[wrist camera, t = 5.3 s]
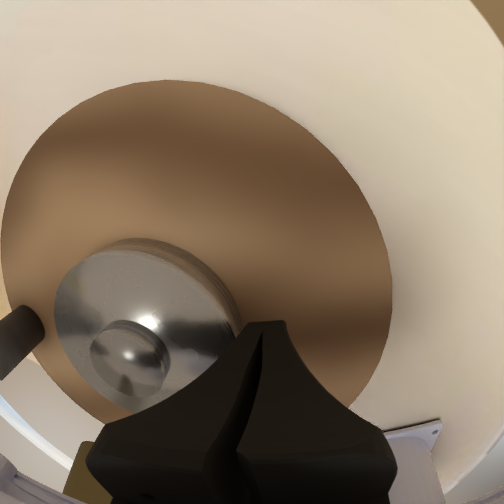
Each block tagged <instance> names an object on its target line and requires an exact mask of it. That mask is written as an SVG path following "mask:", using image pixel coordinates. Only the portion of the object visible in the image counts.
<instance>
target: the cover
mask: <svg viewBox="0 0 504 504" xmlns="http://www.w3.org/2000/svg"><path fill="white" fill-rule="evenodd" d="M54 319H55V326H56V330H57V334H58V337H59V340H60V343H61V345H62V347H63V349H64V351H65V353H66V355H67V357H68V359H69V360H70V362H71V363H72V365H73V366H74V368H75V369H76V370H77V372H78V373H79V374H80V375H81V376H82V377H83V379H84V380H85V381H86V382H87V383H88V384H89V385H90V386H91V387H92V388H94V389H95V390H96V391H97V392H98V393H100V394H101V395H102V396H103V397H105V398H106V399H108V400H109V401H111V402H112V403H114V404H116V405H118V406H119V407H121V408H123V409H125V410H127V411H130V412H132V413H135V414H136V413H138V412H140V411H143V410H145V409H147V408H149V407H151V406H153V405H155V404H157V403H159V402H161V401H163V400H165V399H166V398H168V397H170V396H171V395H173V394H174V393H176V392H177V391H179V390H181V389H182V388H184V387H185V386H187V385H188V384H189V383H191V382H192V381H193V380H195V379H196V378H197V377H198V376H200V375H201V374H202V373H203V372H204V371H206V370H207V369H208V368H209V367H210V366H211V365H212V364H213V363H214V362H215V361H216V360H217V359H218V358H219V357H220V356H221V355H222V354H223V352H224V351H225V350H226V349H227V348H228V347H229V346H230V344H231V343H232V342H233V341H234V340H235V338H236V337H237V336H238V335H239V333H240V332H241V331H242V329H243V323H242V319H241V314H240V312H239V309H238V307H237V304H236V302H235V300H234V298H233V296H232V294H231V293H230V291H229V289H228V288H227V287H226V285H225V284H224V283H223V281H222V280H221V279H220V278H219V277H218V276H217V274H216V273H215V272H214V271H213V270H212V269H211V268H209V267H208V266H207V265H206V264H205V263H204V262H203V261H201V260H200V259H198V258H197V257H195V256H194V255H192V254H191V253H189V252H187V251H185V250H183V249H181V248H180V247H177V246H175V245H172V244H170V243H167V242H163V241H159V240H155V239H148V238H128V239H123V240H119V241H116V242H113V243H111V244H108V245H107V246H105V247H103V248H102V249H100V250H98V251H97V252H95V253H94V254H92V255H91V256H89V257H88V258H86V259H84V260H83V261H81V262H80V263H78V264H77V265H75V266H74V267H73V268H72V269H71V270H70V271H69V272H67V274H66V275H65V276H64V278H63V279H62V281H61V283H60V285H59V287H58V289H57V293H56V296H55V303H54Z"/></svg>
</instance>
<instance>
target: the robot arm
mask: <svg viewBox="0 0 504 504" xmlns="http://www.w3.org/2000/svg"><path fill="white" fill-rule="evenodd" d="M442 427H443V423H442V421H441V420H436V421H433V422H429V423H425V424H421V425H417V426H413V427H409V428H404V429H399V430H395V431H390V432H384V433H383V432H382V431H381V429H380V428H378V427H377V426H375V425H373V424H371V423H370V422H368V421H366V420H364V419H363V418H361V417H359V416H358V415H356V414H355V413H354V412H352V411H351V410H350V409H348V408H347V407H345V406H344V405H343V404H342V403H341V402H340V401H338V400H337V399H336V398H335V397H334V396H333V395H332V394H330V393H329V392H328V391H327V390H326V389H325V388H324V387H323V386H322V385H321V383H320V382H319V381H318V380H317V379H316V378H315V377H314V375H313V374H312V373H311V372H310V370H309V369H308V368H307V366H306V365H305V363H304V362H303V360H302V359H301V357H300V356H299V354H298V352H297V350H296V349H295V347H294V345H293V343H292V341H291V339H290V336H289V334H288V331H287V326H286V322H285V321H284V320H275V321H260V322H248V323H247V325H246V326H245V327H244V328H243V329H242V331H241V332H240V333H239V335H238V336H237V337H236V338H235V340H234V341H233V342H232V343H231V344H230V346H229V347H228V348H227V349H226V350H225V351H224V352H223V354H222V355H221V356H220V357H219V358H218V359H217V360H216V361H215V362H214V363H213V364H212V365H211V366H210V367H209V368H208V369H207V370H206V371H204V372H203V373H202V374H201V375H200V376H198V377H197V378H196V379H195V380H193V381H192V382H191V383H189V384H188V385H187V386H185V387H184V388H182V389H181V390H179V391H177V392H176V393H174V394H173V395H171V396H170V397H168V398H166V399H165V400H163V401H161V402H159V403H157V404H155V405H153V406H151V407H149V408H147V409H145V410H143V411H140V412H138V413H136V414H133V415H130V416H128V417H125V418H122V419H119V420H116V421H113V422H110V423H107V424H105V426H104V427H103V429H102V430H101V432H100V434H99V435H98V437H97V439H96V441H95V442H94V444H93V446H92V447H91V449H90V451H89V453H88V454H87V456H86V459H85V463H86V466H87V468H88V470H89V472H90V473H91V474H92V476H93V477H94V478H95V479H96V480H97V481H98V482H99V484H100V485H101V486H102V487H103V488H104V489H105V490H106V491H107V492H108V493H109V494H110V495H111V496H112V497H113V498H112V501H111V503H110V504H446V502H445V499H444V495H443V492H442V488H441V485H440V482H439V478H438V475H437V472H436V469H435V466H434V463H433V460H432V457H431V454H430V452H431V450H432V448H433V446H434V444H435V442H436V440H437V438H438V436H439V433H440V431H441V429H442ZM0 504H87V503H84V502H81V501H79V500H77V499H74V498H72V497H69V496H67V495H65V494H62V493H60V492H58V491H56V490H54V489H52V488H49V487H47V486H45V485H43V484H41V483H39V482H37V481H35V480H33V479H32V478H30V477H28V476H26V475H24V474H22V473H21V472H19V471H17V469H16V468H15V467H14V465H13V464H12V463H11V462H10V461H9V460H8V459H7V458H6V457H5V456H3V455H2V454H0ZM463 504H504V485H503V486H501V487H499V488H497V489H495V490H493V491H491V492H489V493H487V494H484V495H482V496H480V497H478V498H475V499H473V500H471V501H468V502H466V503H463Z"/></svg>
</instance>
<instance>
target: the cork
mask: <svg viewBox="0 0 504 504" xmlns="http://www.w3.org/2000/svg"><path fill="white" fill-rule="evenodd" d="M93 444H94V442H90V441H85V442H82V443H81V445H80V447H79V450H78V452H77V455H76V457H75V460H74V462H73V465H72V468H71V470H70V473H69V476H68V479H67V481H66V484H65V487H64V490H63V493H62V494H65V495H67V496H69V497H72V498H74V499H77V500H79V501H81V502H84V503H87V504H110V503H111V501H112V498H113V497H112V496H111V495H110V494H109V493H108V492H107V491H106V490H105V489H104V488H103V487H102V486H101V485H100V484H99V482H98V481H97V480H96V479H95V478H94V477H93V476H92V474H91V473H90V472H89V470H88V468H87V466H86V463H85V459H86V456H87V454H88V453H89V451H90V449H91V447H92V446H93Z"/></svg>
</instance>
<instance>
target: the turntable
mask: <svg viewBox="0 0 504 504" xmlns="http://www.w3.org/2000/svg"><path fill="white" fill-rule="evenodd" d="M128 238H148V239H155V240H159V241H163V242H167V243H170V244H172V245H175V246H177V247H180V248H181V249H183V250H185V251H187V252H189V253H191V254H192V255H194V256H195V257H197V258H198V259H200V260H201V261H203V262H204V263H205V264H206V265H207V266H208V267H209V268H211V269H212V270H213V271H214V272H215V273H216V274H217V276H218V277H219V278H220V279H221V280H222V281H223V283H224V284H225V285H226V287H227V288H228V289H229V291H230V293H231V294H232V296H233V298H234V300H235V302H236V304H237V307H238V309H239V312H240V314H241V319H242V323H243V328H244V327H245V326H246V325H247V323H248V322H260V321H275V320H284V321H285V322H286V326H287V331H288V334H289V336H290V339H291V341H292V343H293V345H294V347H295V349H296V350H297V352H298V354H299V356H300V357H301V359H302V360H303V362H304V363H305V365H306V366H307V368H308V369H309V370H310V372H311V373H312V374H313V375H314V377H315V378H316V379H317V380H318V381H319V382H320V383H321V385H322V386H323V387H324V388H325V389H326V390H327V391H328V392H329V393H330V394H332V395H333V396H334V397H335V398H336V399H337V400H338V401H340V402H341V403H342V404H343V405H344V406H345V407H347V408H348V407H349V406H350V405H351V404H352V403H353V402H354V401H355V400H356V398H357V397H358V396H359V394H360V393H361V392H362V390H363V389H364V388H365V386H366V385H367V383H368V382H369V380H370V378H371V376H372V375H373V373H374V371H375V369H376V367H377V365H378V363H379V361H380V358H381V356H382V353H383V350H384V347H385V344H386V341H387V338H388V333H389V327H390V321H391V314H392V277H391V271H390V265H389V259H388V254H387V249H386V246H385V243H384V240H383V237H382V234H381V231H380V229H379V226H378V223H377V220H376V218H375V216H374V214H373V212H372V210H371V208H370V206H369V204H368V203H367V201H366V199H365V197H364V195H363V194H362V192H361V190H360V188H359V186H358V185H357V184H356V182H355V181H354V180H353V178H352V177H351V176H350V174H349V173H348V172H347V171H346V169H345V168H344V167H343V165H342V164H341V163H340V162H339V160H338V159H337V158H336V157H335V156H334V155H333V154H332V153H331V152H330V151H329V150H328V149H327V148H326V147H325V146H324V145H323V144H322V143H321V142H320V141H319V140H317V139H316V138H315V137H314V136H313V135H312V134H311V133H310V132H309V131H308V130H306V129H305V128H304V127H302V126H301V125H299V124H298V123H296V122H295V121H293V120H292V119H290V118H289V117H287V116H286V115H284V114H283V113H281V112H279V111H278V110H276V109H275V108H273V107H271V106H269V105H267V104H265V103H262V102H260V101H258V100H256V99H253V98H251V97H249V96H247V95H244V94H242V93H240V92H237V91H233V90H229V89H226V88H222V87H218V86H214V85H210V84H206V83H200V82H189V81H176V80H160V81H149V82H140V83H133V84H129V85H126V86H122V87H118V88H115V89H111V90H108V91H105V92H103V93H100V94H98V95H96V96H94V97H92V98H90V99H88V100H86V101H84V102H82V103H80V104H78V105H77V106H75V107H74V108H72V109H71V110H69V111H68V112H67V113H65V114H64V115H62V116H61V117H60V118H58V119H57V120H56V121H55V122H54V123H53V124H52V125H51V126H50V127H49V128H48V129H47V130H46V131H45V132H44V133H43V134H42V135H41V136H40V137H39V139H38V140H37V141H36V142H35V144H34V145H33V146H32V148H31V149H30V151H29V152H28V153H27V155H26V156H25V158H24V160H23V162H22V164H21V165H20V167H19V169H18V171H17V173H16V175H15V177H14V180H13V183H12V185H11V188H10V191H9V194H8V197H7V200H6V205H5V209H4V214H3V219H2V229H1V264H2V271H3V278H4V284H5V288H6V292H7V296H8V300H9V303H10V306H11V309H12V312H11V313H9V314H8V315H7V316H5V317H4V318H3V319H2V320H0V380H3V379H4V378H5V377H6V376H7V375H8V374H9V373H10V372H11V371H12V370H13V369H14V368H15V367H16V366H17V365H18V364H19V363H20V362H21V361H22V360H23V359H24V358H25V357H26V356H27V355H28V354H29V353H30V352H31V351H32V353H33V354H34V356H35V357H36V359H37V360H38V362H39V363H40V364H41V366H42V367H43V368H44V370H45V371H46V372H47V374H48V375H49V376H50V377H51V378H52V379H53V381H54V382H55V383H56V384H57V385H58V386H59V387H60V388H61V390H62V391H63V392H65V393H66V394H67V395H68V396H69V397H70V398H71V399H72V400H73V401H74V402H75V403H76V404H78V405H79V406H80V407H81V408H83V409H84V410H85V411H87V412H88V413H89V414H90V415H92V416H93V417H95V418H96V419H98V420H99V421H101V422H102V423H104V424H107V423H110V422H113V421H116V420H119V419H122V418H125V417H128V416H130V415H133V414H135V413H132V412H130V411H127V410H125V409H123V408H121V407H119V406H118V405H116V404H114V403H112V402H111V401H109V400H108V399H106V398H105V397H103V396H102V395H101V394H100V393H98V392H97V391H96V390H95V389H94V388H92V387H91V386H90V385H89V384H88V383H87V382H86V381H85V380H84V379H83V377H82V376H81V375H80V374H79V373H78V372H77V370H76V369H75V368H74V366H73V365H72V363H71V362H70V360H69V359H68V357H67V355H66V353H65V351H64V349H63V347H62V345H61V343H60V340H59V337H58V334H57V330H56V326H55V319H54V303H55V296H56V293H57V289H58V287H59V285H60V283H61V281H62V279H63V278H64V276H65V275H66V274H67V272H69V271H70V270H71V269H72V268H73V267H74V266H75V265H77V264H78V263H80V262H81V261H83V260H84V259H86V258H88V257H89V256H91V255H92V254H94V253H95V252H97V251H98V250H100V249H102V248H103V247H105V246H107V245H108V244H111V243H113V242H116V241H119V240H123V239H128Z"/></svg>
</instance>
